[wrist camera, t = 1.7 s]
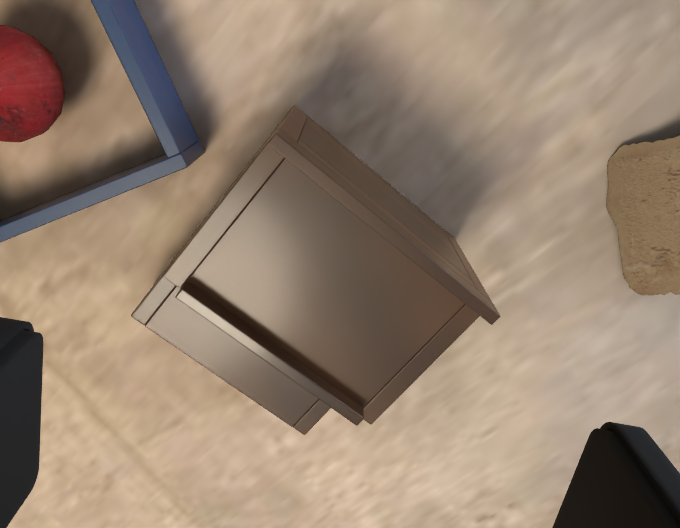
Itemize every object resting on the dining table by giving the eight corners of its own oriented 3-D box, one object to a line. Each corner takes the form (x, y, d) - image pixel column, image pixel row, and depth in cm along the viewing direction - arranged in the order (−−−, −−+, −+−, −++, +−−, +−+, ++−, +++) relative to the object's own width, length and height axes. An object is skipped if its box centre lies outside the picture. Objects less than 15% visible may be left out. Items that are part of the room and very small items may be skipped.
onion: (104, 110, 36) (42, 129, 28) (19, 146, 37) (-63, 173, 29) (53, 10, 34) (-27, 2, 26) (-35, 50, 35) (-138, 52, 27)
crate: (-148, 2, 34) (-217, -3, 30) (84, -107, 32) (45, -130, 28) (-4, 236, 38) (-47, 260, 34) (205, 152, 37) (187, 167, 32)
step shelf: (308, 396, 43) (297, 517, 32) (152, 286, 40) (82, 378, 29) (455, 239, 39) (501, 316, 28) (294, 104, 36) (275, 132, 25)
